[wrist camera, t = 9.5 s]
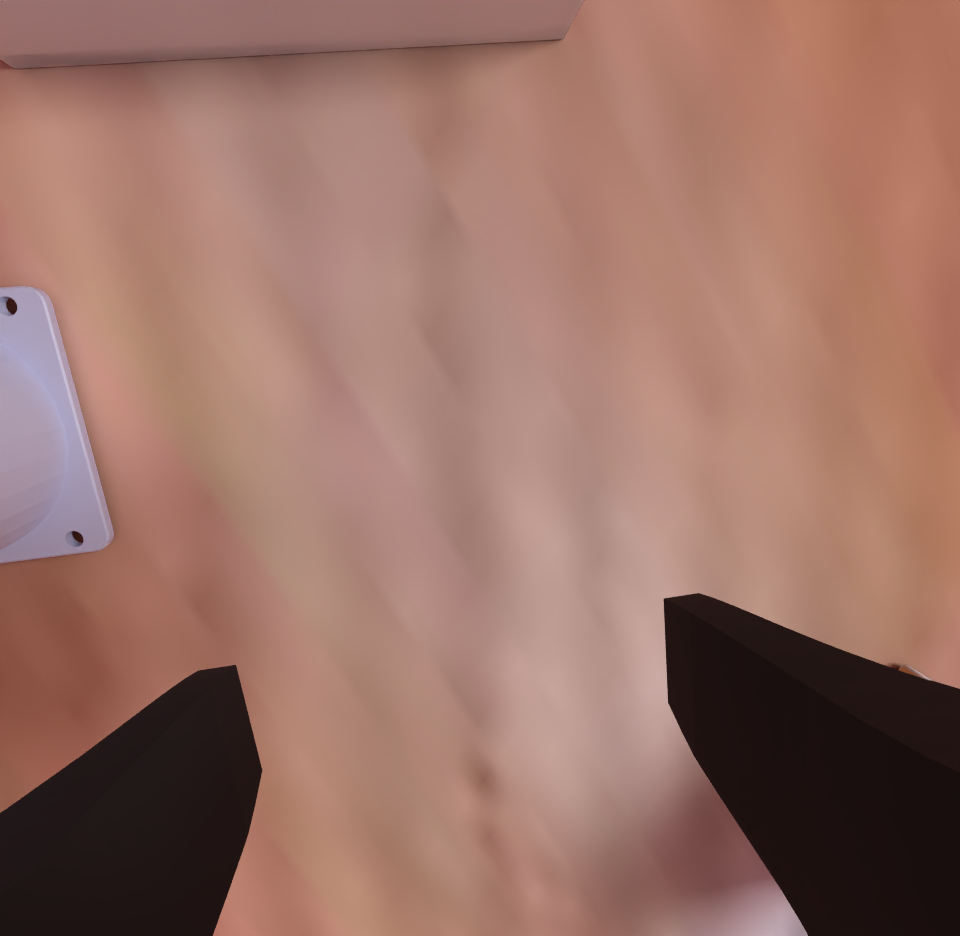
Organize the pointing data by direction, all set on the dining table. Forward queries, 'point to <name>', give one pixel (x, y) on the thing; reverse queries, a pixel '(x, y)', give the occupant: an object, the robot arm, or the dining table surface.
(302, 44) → the white tub
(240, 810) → the robot arm
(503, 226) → the dining table surface
